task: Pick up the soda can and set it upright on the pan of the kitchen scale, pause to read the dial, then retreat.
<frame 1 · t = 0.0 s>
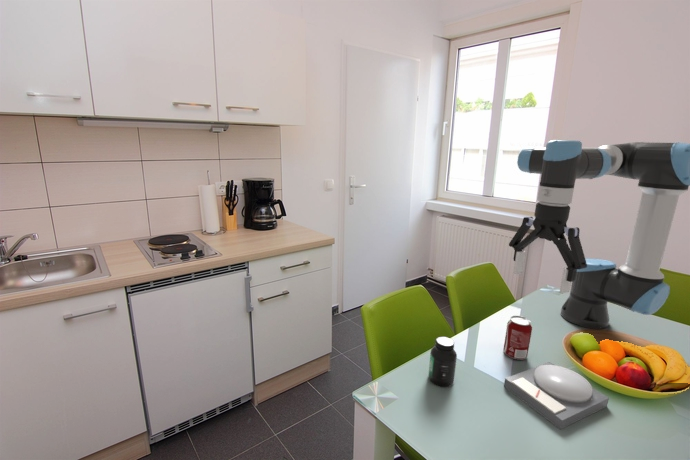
hand: (539, 282, 94), 28 cm above the table, fingers open, 13 cm apart
soda can: (514, 355, 110), on the table
supplement bottle: (440, 380, 98), on the table
scale: (553, 395, 92), on the table
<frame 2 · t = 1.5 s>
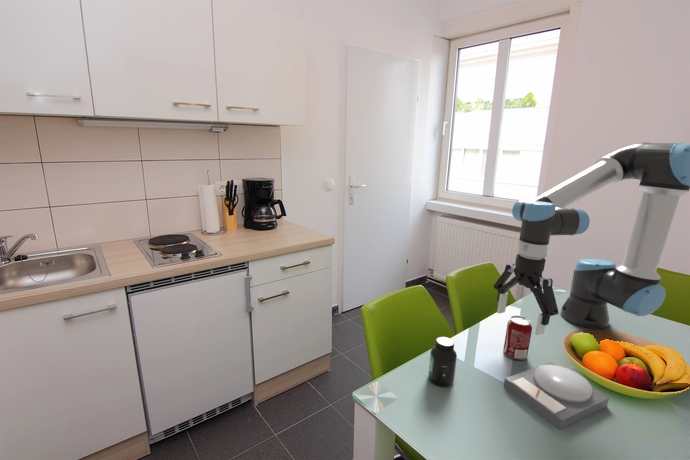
hand: (519, 322, 107), 11 cm above the table, fingers open, 13 cm apart
nothing on the table moved.
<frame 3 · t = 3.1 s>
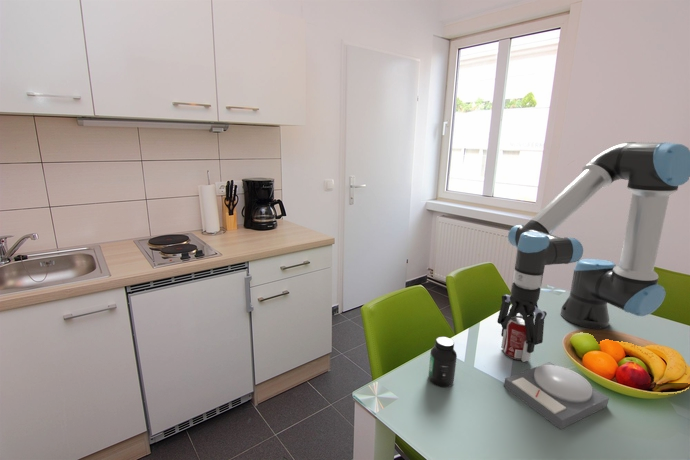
hand: (515, 353, 110), 1 cm above the table, fingers closed on soda can, 7 cm apart
soda can: (514, 355, 110), on the table, touching gripper
everything else where it was.
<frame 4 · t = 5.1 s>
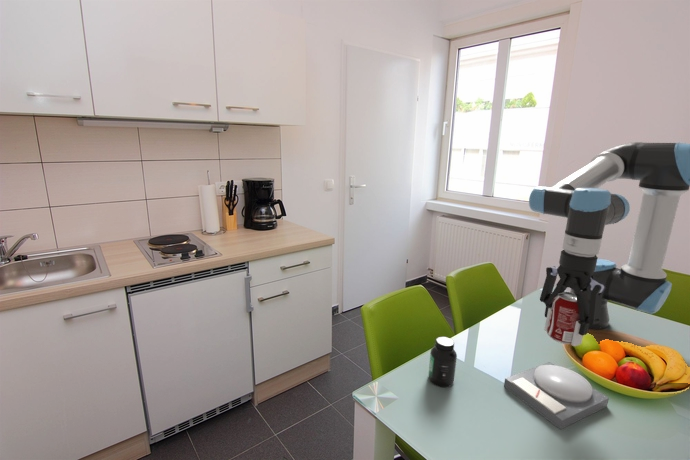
hand: (562, 336, 91), 15 cm above the table, fingers closed on soda can, 7 cm apart
soda can: (561, 339, 92), point 15 cm above the table, touching gripper
everything else where it was.
when the fingers open (5 cm above the table, at t = 7.4 s): soda can stays where it is, resting on scale.
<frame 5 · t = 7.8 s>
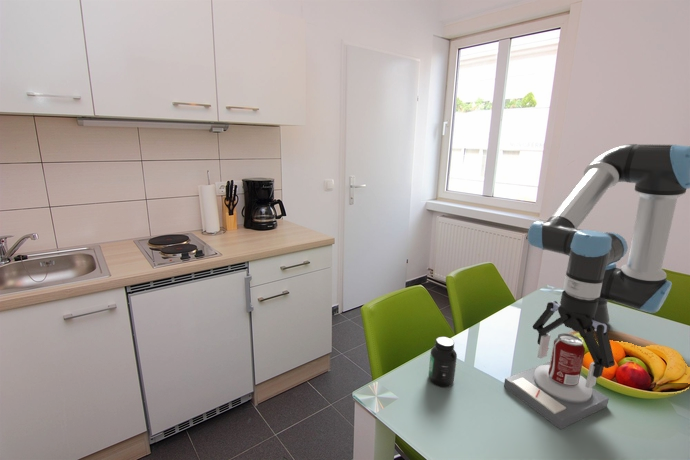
hand: (564, 370, 92), 7 cm above the table, fingers open, 12 cm apart
soda can: (562, 380, 92), point 4 cm above the table, touching scale
everything else where it was.
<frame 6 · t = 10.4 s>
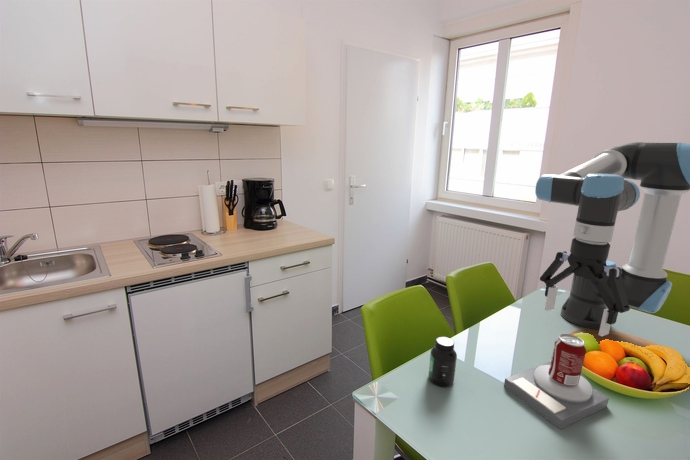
hand: (574, 321, 89), 21 cm above the table, fingers open, 13 cm apart
nothing on the table moved.
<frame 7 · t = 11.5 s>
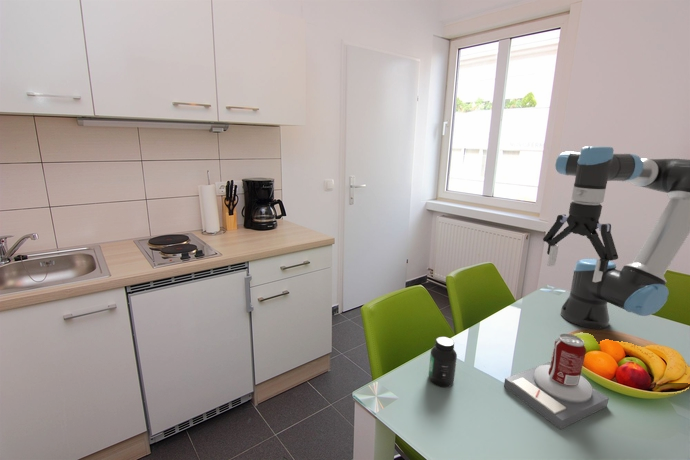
hand: (572, 273, 105), 27 cm above the table, fingers open, 13 cm apart
nothing on the table moved.
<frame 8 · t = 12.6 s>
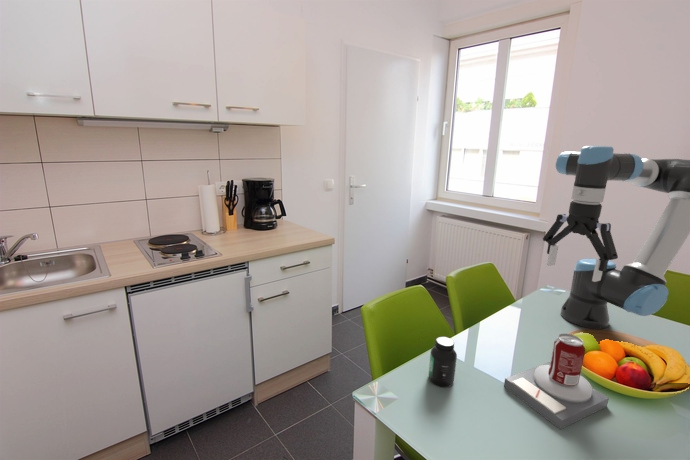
hand: (572, 272, 105), 27 cm above the table, fingers open, 13 cm apart
nothing on the table moved.
at the end: soda can inside the target area on the scale (0.0 cm from its centre), point 3.8 cm above the scale's base; soda can tilted 1°; the gripper is holding nothing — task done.
